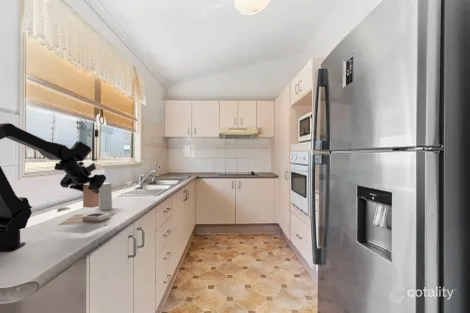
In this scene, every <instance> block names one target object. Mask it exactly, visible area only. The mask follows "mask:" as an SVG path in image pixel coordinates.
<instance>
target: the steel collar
mask: <svg viewBox="0 0 470 313" xmlns="http://www.w3.org/2000/svg"><path fill="white" fill-rule="evenodd" d="M110 213H111V212H92V213H87V214H88V215H85V216H82V221H94V222H100V221H103V220H105V219H108V218H110ZM110 219H111V218H110Z"/></svg>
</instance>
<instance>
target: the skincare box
mask: <svg viewBox="0 0 470 313" xmlns="http://www.w3.org/2000/svg"><path fill="white" fill-rule="evenodd" d="M112 195H113V194H112V183H110V182H104V183H103V184H102V186H101V188H99V206H98V209H99V210H100V211H105V210H113V203H112V202H113V200H112V198H113V197H112Z"/></svg>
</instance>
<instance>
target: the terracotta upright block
mask: <svg viewBox="0 0 470 313" xmlns="http://www.w3.org/2000/svg"><path fill="white" fill-rule="evenodd" d="M88 188H89V183H87V184H84V185H83V192H82V203H83V204H82V207H83V208H90V209H91V208H93V209H94V208H96V207H99V193H98V194H97V193H95V192H93V191H91V190H89V189H88Z"/></svg>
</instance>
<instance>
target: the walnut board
mask: <svg viewBox="0 0 470 313" xmlns="http://www.w3.org/2000/svg"><path fill="white" fill-rule="evenodd" d="M109 213H110V218H108V219H105V220H103V221H100V222H94V221H82V216H85V215H88V214H89V213H85V214H84V213H83V214H74V215H73V216H70V217H68V218H67V219H65V220H64V221H62V222H60V223H58V226H66V225H83V224H84V225H85V224H86V225H87V224H102V223H103V224H104V223H107V222H108V221H109V220H111V218H113V217H114V215H116V214H117V212H109ZM106 226H107V224H105V225H103V227H106Z"/></svg>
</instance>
